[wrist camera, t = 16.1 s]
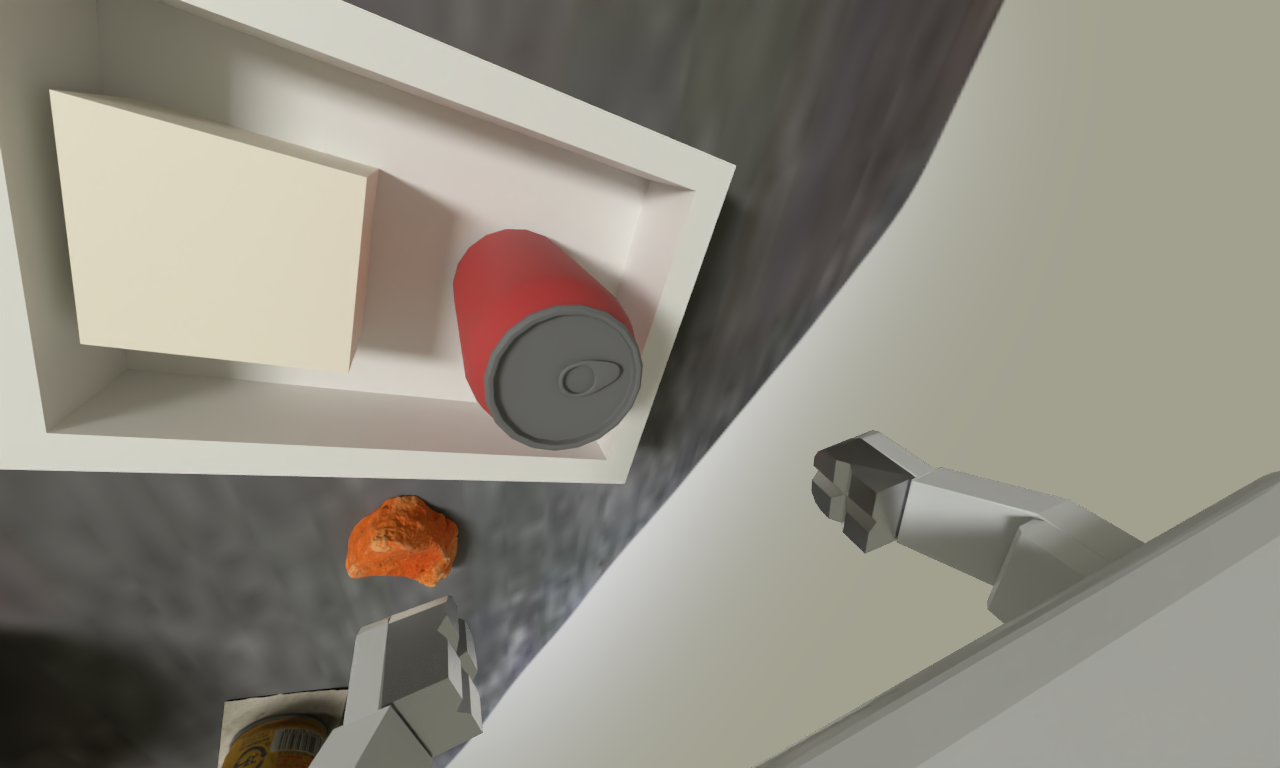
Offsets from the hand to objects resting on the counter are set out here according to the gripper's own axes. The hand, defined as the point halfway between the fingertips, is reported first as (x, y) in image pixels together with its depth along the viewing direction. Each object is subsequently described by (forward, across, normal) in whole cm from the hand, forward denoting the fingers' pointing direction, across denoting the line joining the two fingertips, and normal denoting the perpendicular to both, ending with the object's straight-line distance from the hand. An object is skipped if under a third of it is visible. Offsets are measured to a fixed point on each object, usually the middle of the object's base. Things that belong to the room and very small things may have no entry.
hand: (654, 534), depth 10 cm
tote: (+20, +5, -2) cm, 21 cm away
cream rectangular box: (+20, +10, -5) cm, 22 cm away
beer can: (+20, 0, 0) cm, 20 cm away
